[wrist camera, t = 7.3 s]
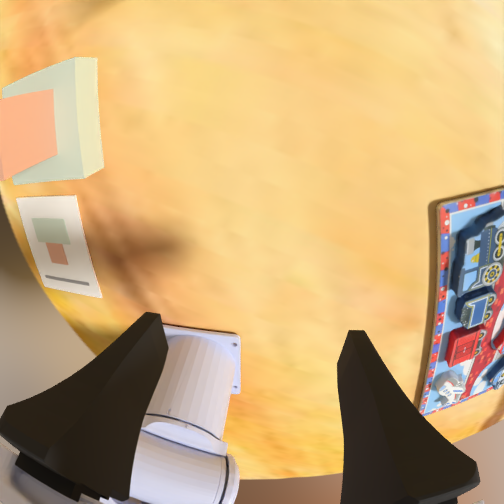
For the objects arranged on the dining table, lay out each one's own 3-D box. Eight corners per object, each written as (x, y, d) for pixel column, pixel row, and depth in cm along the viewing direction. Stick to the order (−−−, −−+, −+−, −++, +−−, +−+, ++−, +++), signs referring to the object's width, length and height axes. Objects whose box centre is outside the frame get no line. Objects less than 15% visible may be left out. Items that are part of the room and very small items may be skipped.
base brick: (107, 165, 19) (84, 178, 16) (37, 172, 19) (13, 185, 17) (101, 58, 14) (75, 57, 12) (27, 83, 15) (2, 88, 13)
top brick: (57, 154, 15) (4, 180, 11) (19, 159, 16) (-29, 184, 11) (53, 88, 13) (-5, 100, 9) (13, 102, 13) (-38, 117, 9)
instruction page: (102, 296, 25) (101, 298, 24) (45, 285, 25) (44, 287, 25) (76, 195, 19) (73, 196, 19) (17, 197, 20) (15, 198, 20)
